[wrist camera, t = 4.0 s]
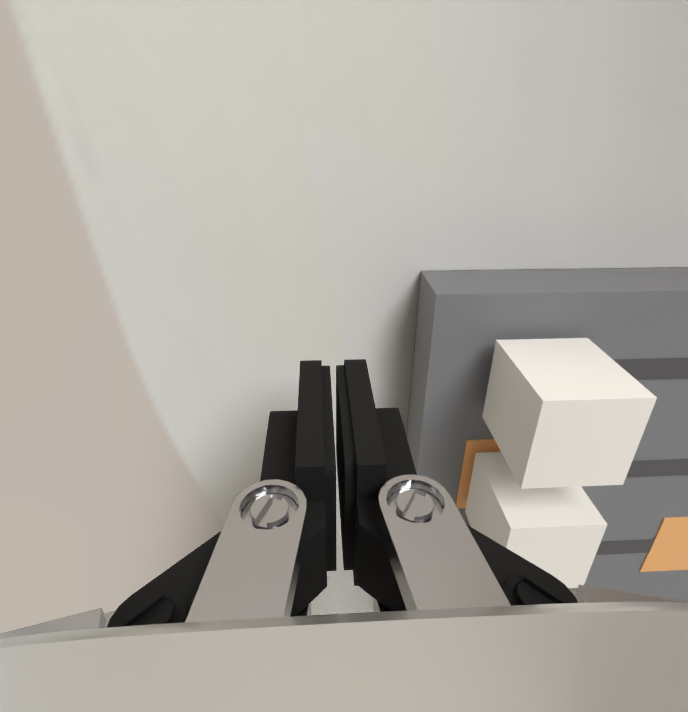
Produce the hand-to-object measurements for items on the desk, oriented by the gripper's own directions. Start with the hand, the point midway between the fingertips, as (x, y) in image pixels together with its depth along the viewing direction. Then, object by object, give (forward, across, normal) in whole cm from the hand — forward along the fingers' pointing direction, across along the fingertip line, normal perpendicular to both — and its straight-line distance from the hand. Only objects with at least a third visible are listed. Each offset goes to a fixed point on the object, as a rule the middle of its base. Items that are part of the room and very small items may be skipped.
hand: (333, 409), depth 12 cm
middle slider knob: (+1, -6, +4) cm, 7 cm away
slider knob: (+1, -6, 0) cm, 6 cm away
